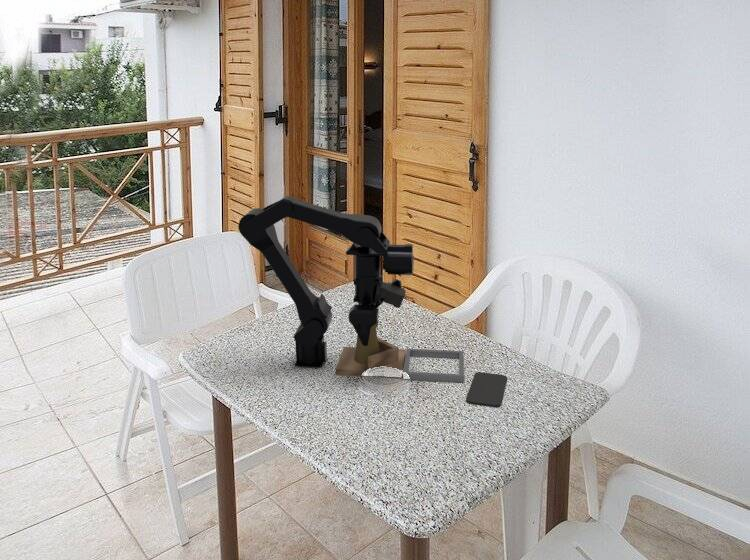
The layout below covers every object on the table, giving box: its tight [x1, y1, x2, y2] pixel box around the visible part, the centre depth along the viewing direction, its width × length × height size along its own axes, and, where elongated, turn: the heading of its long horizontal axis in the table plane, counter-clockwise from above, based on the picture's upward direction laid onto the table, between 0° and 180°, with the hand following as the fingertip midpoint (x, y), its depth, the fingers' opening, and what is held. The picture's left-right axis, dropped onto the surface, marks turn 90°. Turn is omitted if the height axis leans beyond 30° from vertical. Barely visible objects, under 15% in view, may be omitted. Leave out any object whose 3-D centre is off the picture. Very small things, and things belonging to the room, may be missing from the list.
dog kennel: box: [335, 336, 407, 377], centre depth 167 cm, size 15×12×4 cm
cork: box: [354, 321, 379, 364], centre depth 166 cm, size 6×6×11 cm
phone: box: [465, 371, 508, 408], centre depth 156 cm, size 7×1×15 cm
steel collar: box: [403, 348, 465, 383], centre depth 166 cm, size 14×14×2 cm
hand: (367, 337), depth 166 cm, fingers open, 9 cm apart
